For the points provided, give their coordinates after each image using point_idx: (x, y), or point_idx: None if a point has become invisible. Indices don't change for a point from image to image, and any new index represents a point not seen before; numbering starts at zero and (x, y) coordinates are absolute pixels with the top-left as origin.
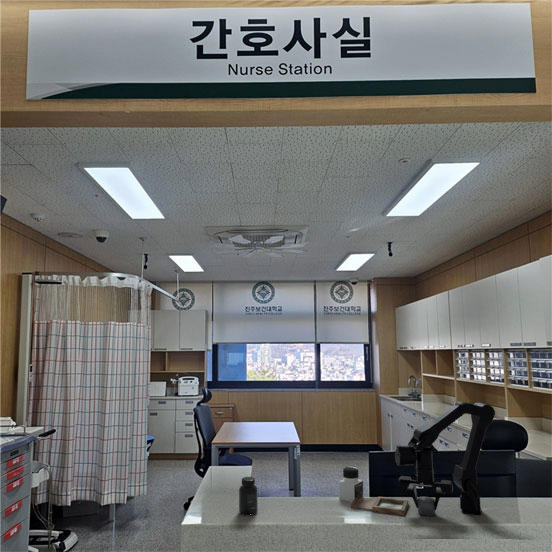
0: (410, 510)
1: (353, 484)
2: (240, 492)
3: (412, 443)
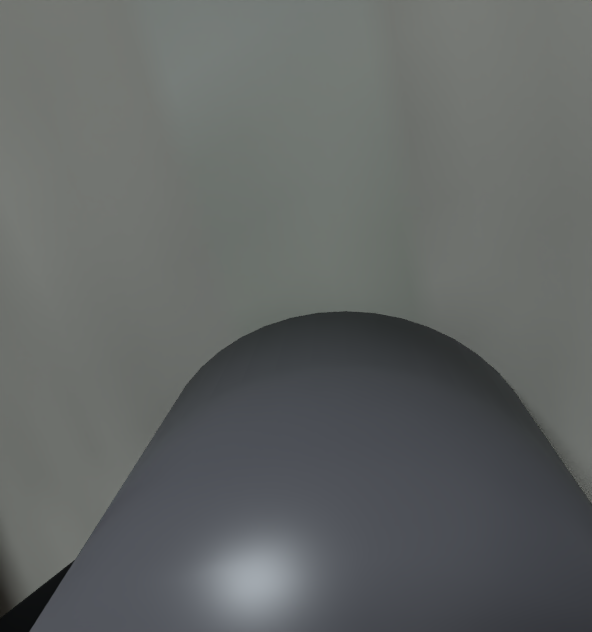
0: (2, 460)
1: None
2: None
3: None
